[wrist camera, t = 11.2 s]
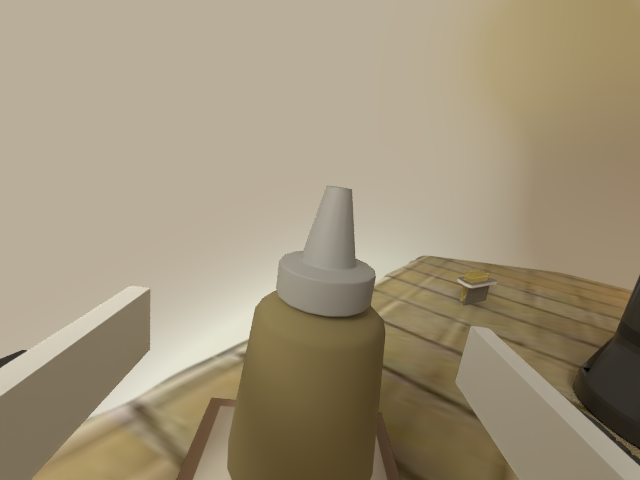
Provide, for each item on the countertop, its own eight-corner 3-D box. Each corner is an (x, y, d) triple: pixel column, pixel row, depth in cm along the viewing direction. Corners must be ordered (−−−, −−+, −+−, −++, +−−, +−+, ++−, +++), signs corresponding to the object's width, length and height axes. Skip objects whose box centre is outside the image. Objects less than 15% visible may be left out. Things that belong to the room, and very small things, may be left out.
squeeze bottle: (350, 437, 22) (397, 192, 18) (377, 588, 14) (473, 211, 10) (238, 431, 21) (260, 173, 17) (201, 587, 13) (227, 179, 9)
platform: (418, 295, 61) (425, 265, 60) (467, 286, 71) (474, 260, 70) (473, 324, 52) (483, 289, 50) (521, 309, 62) (530, 279, 60)
